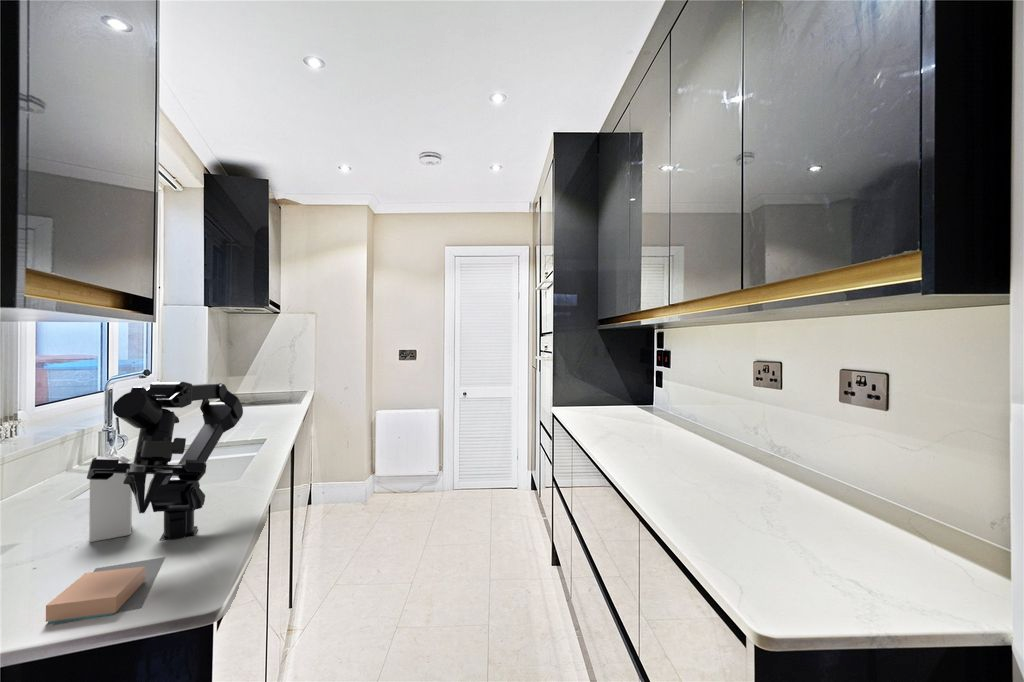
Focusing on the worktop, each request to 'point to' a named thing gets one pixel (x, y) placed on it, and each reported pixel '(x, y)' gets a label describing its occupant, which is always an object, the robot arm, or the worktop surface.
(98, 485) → the milk carton
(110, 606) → the tile
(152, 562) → the mat
